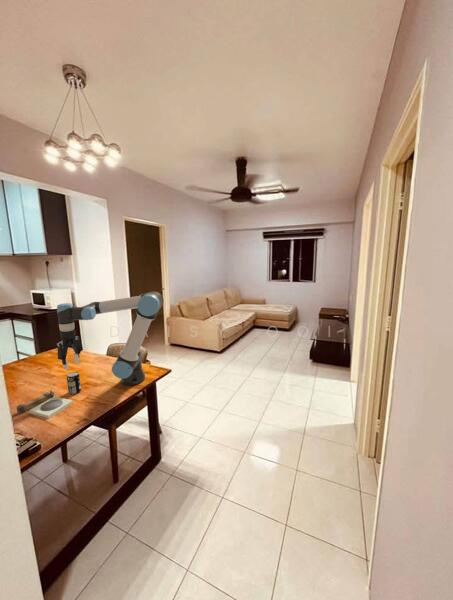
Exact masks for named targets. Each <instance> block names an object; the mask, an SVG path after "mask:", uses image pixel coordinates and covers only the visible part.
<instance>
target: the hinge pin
mask: <svg viewBox="0 0 453 600" xmlns="http://www.w3.org/2000/svg"><path fill="white" fill-rule="evenodd" d="M49 393H50V396H51V398H52V397H54V396H55V391H54V390H50V391H49Z"/></svg>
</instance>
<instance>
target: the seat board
mask: <svg viewBox="0 0 453 600" xmlns="http://www.w3.org/2000/svg"><path fill="white" fill-rule="evenodd" d="M73 404H74V400H71V399H67V398H64V397H59V396H55V395H54V397H52V398H51V399H49V400H47V401H45V402H44V403H42V404H40V405H38V406H36V407H34V408H32V409H30V410H29V413H30V414H31V415H32V414H33V415H35V416H39V417H43V418H45V419H51V418H52V417H53V416H55V415H57V414H59V413H60V412H61V411H63V410H65V409H66V408H68V407H69V406H71V405H73Z"/></svg>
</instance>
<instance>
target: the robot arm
mask: <svg viewBox="0 0 453 600" xmlns="http://www.w3.org/2000/svg"><path fill="white" fill-rule="evenodd" d="M163 305H164V297H163V295H162V294H161V293H160V292H158V291H154V290H153V291H149V292H146V293H145V292H144V293H140V295H138V296H137V295H136V296H131V297H130V296H129V297H124V298H122V297H121V298H116V299H109V300H102V301H93V302H90V303H89V304H86V305H83V306H73V303H69V302H67V303H66V302H65V303H59V304H58V305H57V306H56V311H57V312H56V314H57V318H58V319H57V320H58V328H59V336H60V338H61V340H60V341H59V342H56V343H55V345H56V347H57V360H61V364H62V366H63V369H64V370H66V371H67V370H69V361H68V358H67V355H68V349H69V347H70V345H71V348H72V350H73V352H74V353H73V359H74V364H75V365H80V357H81V356H80V354H81V352H82V351H83V349H82V344H81V337H80V336H78V335H76V334H77V333H76V329H75V327H76V326H75V321H90V320H94V319H95V318H96V315H101V314H107V313H112V312H120V311H127V310H134V309H136V310H135V314H136V318H135V321H134V323H133V324H132V328H131V330H130V333H129V336H128V338H127V340H126V343H125V345H124V347H123V348H122V349H121V351H119V353H118V356H117V358H116V359H115V362H114V363H113V364H112V365H111V372H112V375H114V376H115V377H116V378H118V379H120V381H121V384H122V385H124V386H135V385H139V384H141V383H142V382H144V381H145V380H146V374H145V372H144V370H143V365H142V350H141V347H142V344H143V342H144V340H145V337H146V335H147V332H148V330H149V328H150V325H151V323H152V321H154V320H156V318H157V315H158V313H159V311H160V309H161V308H162V307H163Z"/></svg>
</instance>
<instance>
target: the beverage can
mask: <svg viewBox="0 0 453 600" xmlns="http://www.w3.org/2000/svg"><path fill="white" fill-rule="evenodd" d="M66 381H67V382H66V383H67V389H68V394H70V395H71V396H72V395H77V394H79V393H80V392H81V390H82V386H81V377H80V374H79V372H78V371H73V372H70V373H68V374H67V376H66Z"/></svg>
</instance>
